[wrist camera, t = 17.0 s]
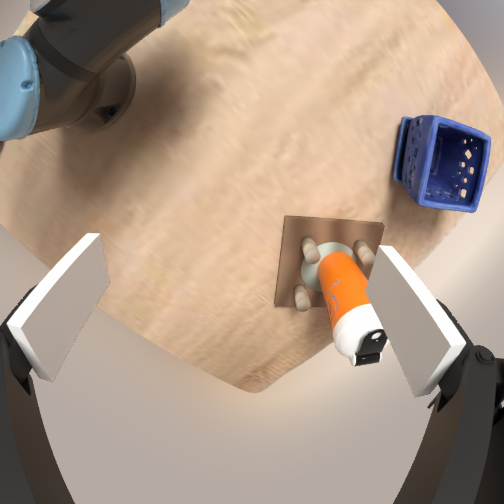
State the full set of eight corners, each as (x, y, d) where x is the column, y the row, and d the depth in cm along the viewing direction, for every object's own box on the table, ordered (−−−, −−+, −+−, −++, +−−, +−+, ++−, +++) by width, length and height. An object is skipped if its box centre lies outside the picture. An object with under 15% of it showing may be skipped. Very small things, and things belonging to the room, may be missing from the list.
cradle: (274, 302, 55) (276, 323, 50) (284, 215, 46) (289, 231, 41) (359, 302, 56) (368, 322, 50) (382, 222, 47) (396, 238, 42)
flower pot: (439, 192, 44) (477, 216, 34) (382, 183, 44) (418, 207, 33) (450, 125, 38) (493, 136, 27) (392, 107, 37) (433, 112, 27)
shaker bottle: (358, 242, 47) (408, 318, 30) (358, 283, 52) (397, 362, 34) (310, 251, 48) (340, 335, 31) (313, 292, 52) (338, 378, 35)
